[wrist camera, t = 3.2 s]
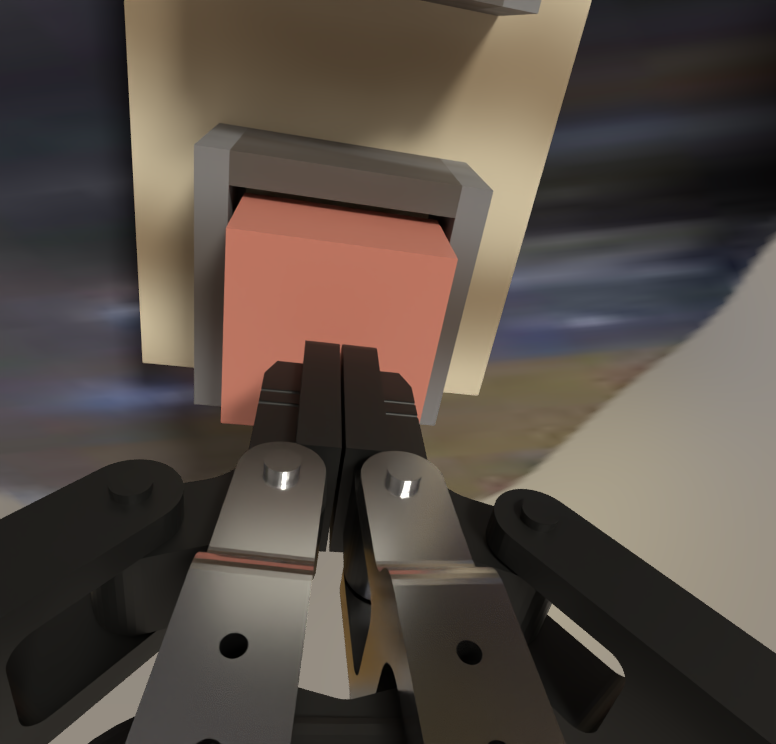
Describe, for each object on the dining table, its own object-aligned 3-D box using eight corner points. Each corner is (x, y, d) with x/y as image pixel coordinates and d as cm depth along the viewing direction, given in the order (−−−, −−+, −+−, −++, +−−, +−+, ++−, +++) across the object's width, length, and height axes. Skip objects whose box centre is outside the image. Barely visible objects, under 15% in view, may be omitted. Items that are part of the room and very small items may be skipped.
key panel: (462, 356, 24) (501, 454, 19) (164, 324, 23) (109, 422, 17) (644, -339, 15) (838, -566, 9) (140, -496, 13) (-10, -903, 7)
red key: (237, 363, 17) (220, 423, 15) (244, 192, 15) (226, 227, 12) (403, 380, 18) (415, 439, 15) (437, 220, 15) (457, 258, 13)
